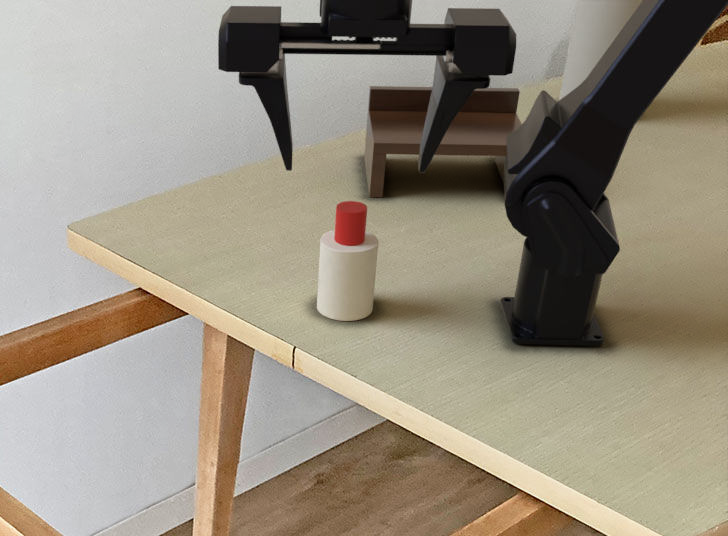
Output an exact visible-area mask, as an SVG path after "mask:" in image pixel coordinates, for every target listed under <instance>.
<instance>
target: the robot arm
mask: <svg viewBox="0 0 728 536" xmlns="http://www.w3.org/2000/svg"><path fill="white" fill-rule="evenodd" d="M412 7H413V0H319V18H320V22H299V21H298V22H297V21H296V22H294V21H293V22H292V21H291V22H289V21H287V22H286V21H284V22H283V21H282V6H277V5H276V6H274V5H271V6H270V5H230V6H229V7H228V8H227V10H226V11H225V12H224V14H222V16H221V20H220V24H219V28H218V40H217V46H218V47H217V48H218V49H217V50H218V51H217V53H218V55H217V56H218V57H217V58H218V59H217V60H218V62H217V63H218V68H217V69H218V70H219V71H222V72H225V73H238V84H239V85H241V86H248V87H253V88H254V90H255V92H256V94H257V96H258V99H259V100H260V102H261V104H262V106H263V109H264V111H265V113H266V115H267V117H268V119H269V122H270V124H271V127H272V131H273V133H274V136H275V139H276V143H277V146H278V149H279V153H280V155H281V158H282V161H283V165H284V167H285V168H284V169H285V170H286V171H289V172H290V171H292V170H293V149H294V145H293V144H294V143H293V133H292V123H291V122H292V121H291V112H290V101H289V90H288V79H287V66H286V55H350V56H351V55H352V56H353V55H355V56H356V55H357V56H358V55H359V56H428V57H429V56H433V57H435V56H436V57H435V64H434V73H433V81H432V83H433V84H432V86H431V87H432V92H431V97H430V101H429V106H428V111H427V115H426V120H425V125H424V129H423V134H422V139H421V143H420V151H419V155H418V164H417V165H418V166H417V169H418V173H420V174H425V173H426V172H427V170H428V168H429V166H430V165H431V162H432V161H433V158H434V156H435V155H434V154H435V152H436V151H437V149H438V147H439V145H440V143H441V141H442V139H443V137H444V135H445V133H446V132H447V130H448V128H449V126H450V124H451V123H452V121H453V120H454V118H455V117H456V115H457V114H458V112H459V111H460V109H461V108H462V106H463V105H464V104H465V102H466V101H467V99H468V98H469V96H470V95H471V94H472V92H473V91H474V90H475V89H485V88H490V86H491V85H490V84H491V77H490V76H498V77H499V76H502V77H505V76H508V75H511V74H513V73H514V72H513V71H514V65H515V58H516V52H517V51H516V50H517V33H516V31H515V30H514V28H513V26H512V24H511V23H510V21H509V20H508V18H507V17H506V15H505V14H504V13H503V11H502V10H501V9H500V8H479V7H478V8H476V7H474V8H471V7H469V8H468V7H467V8H466V7H465V8H463V7H448V8H447V10H446V14H445V17H444V23H411V19H412V9H413V8H412ZM727 7H728V0H643V1H642V2H641V4H640V5H639V6H638V8H637V9H636V10H635V12H634V13H633V15H632V16H631V17H630V19H629V20H628V21H627V23H626V24H625V26H624V27H623V28H622V30H621V31H620V32H619V34H618V35H617V37H616V38H615V39H614V41H613V42H612V43H611V45H610V46H609V48H608V49H607V50H606V52H605V53H604V55H603V56H602V57H601V59H600V60H599V61H598V63H597V64H596V66H595V67H594V68H593V70H592V71H591V72H590V74H589V75H588V77H587V78H586V79H585V80H584V81H583V82H582V83H581V84H580V85H579V86H578V87H577V88H575V89H574V90H573V91H571V92H570V93H569V94H567V95H566V96H565V97H563V98H562V99H561V100H559V99H558V101H557V100H556V99H555V98H554V97H553V96H551V94H549V92H547V91H546V90H541V91H540V92H539V94H538V95H537V97H536V98H535V100H534V103H533V105H532V107H531V109H530V111H529V113H528V115H527V116H526V118H525V120H524V121H523V122H522V123H521V124H522V125H521V126H520V127H519V128H518V129H517V130H516V131H514V132H513V133H511V134H510V135H509V136H507V157H506V159H505V164H504V182H503V193H504V208H505V212H506V217H507V219H508V221H509V223H510V224H511V226H512V228H513V229H514V230H515V231H517V232H518V233H519V234H520V235H521V236H523V237H525V239H524V241H523V247H522V253H521V258H520V263H519V268H518V274H517V281H516V285H515V292H514V296H503V297H501V298H500V302H499V306H500V309H501V312H502V316H503V319H504V322H505V324H506V329H507V332H508V334H509V337H510V341H511V342H512V343H514V344H518V345H545V346H546V345H549V346H551V345H552V346H553V345H554V346H588V347H589V346H590V347H591V346H592V347H594V346H595V347H599V346H603V345H604V343H605V340H606V339H605V335H604V333H603V331H602V329H601V327H600V325H599V322H598V321H597V318H596V316H595V309H596V306H597V300H598V296H599V292H600V288H601V283H602V279H603V275H604V274H606V273H607V271H608V269H609V268H610V266H611V265H612V263H613V262H614V260H615V259H616V257H617V255H618V254H619V253H620V250H621V247H620V242H619V237H618V234H617V229H616V225H615V220H614V217H613V212H612V208H611V203H610V199H609V197H608V196H607V194H605V191H606V190H607V188H608V186H609V185H610V183H611V181H612V179H613V177H614V175H615V172H616V169H617V167H618V165H619V162H620V160H621V157H622V154H623V153H624V150H625V148H626V146H627V143H628V141H629V137H630V136H631V133H632V131H633V129H634V127H635V126H636V124H637V122H638V121H639V120H640V118H641V117H642V116H643V114H644V113H645V112H646V111H647V110H648V109H649V107H650V106H651V104H652V103H653V102H654V100H655V99H656V98H657V97H658V96H659V94H660V93H661V91H662V90H663V89H664V88H665V86H666V85H667V84H668V82H669V81H670V80H671V79H672V78H673V76H674V75H675V74H676V72H677V71H678V70H679V68H680V67H681V66H682V65H683V63H684V62H685V61H686V59H687V58H689V56H690V54H691V53H692V51H693V50H694V49H695V48H696V47H697V45H698V44H699V43H700V41H701V40H702V39H703V37H705V35H706V34H707V33H708V31H709V30H710V29H711V27H713V24H715V22H716V21H717V19H718V18H719V17H720V16H721V15H722V13H723V12H724V11H725V9H726V8H727ZM333 37H334V38H335V37H336V38H337V37H338V38H340V37H341V38H343V37H344V38H348V39H336V38H335V39H333ZM352 38H354V39H352ZM377 38H378V39H377ZM351 39H352V40H351ZM374 39H377V40H374ZM381 39H385V40H381ZM388 39H390V40H388ZM394 39H395V40H394Z"/></svg>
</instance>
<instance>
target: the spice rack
mask: <svg viewBox="0 0 728 536" xmlns="http://www.w3.org/2000/svg"><path fill="white" fill-rule="evenodd" d="M432 87H433V86H388V85H387V86H386V85H384V86H383V85H381V86H379V85H369V90H368V91H369V92H368V106H367V118H366V128H365V129H366V130H365V131H366V132H365V141H364V142H365V143H364V154H363V155H364V156H363V157H364V158H363V159H364V166H365V174H366V181H367V188H368V196H369V198H383V196H384V185H385V176H386V175H385V173H386V164H387V163H386V161H387V155H405V156H406V155H408V156H409V155H410V156H411V155H413V156H415V155H416V156H419V151H420V143H421V139H422V134H423V129H424V125H425V120H426V115H427V111H428V106H429V101H430V97H431V92H432ZM520 93H521V92H520V89H519V88H518V87H517V88H515V87H488V88H485V89H475V90H474V91H473V92H472V94H471V95H470V96H469V98H468V99H467V101H466V102H465V104H464V105H463V106H462V108H461V109H460V111H459V112H458V114H457V115H456V117H455V118H454V120H453V121H452V123H451V124H450V126H449V128H448V130H447V132H446V133H445V135H444V137H443V139H442V141H441V143H440V145H439V147H438V149H437V151H436V152H435V154H434V156H465V157H466V156H471V157H473V156H474V157H494V162H495V165H496V167H497V169H498V172H499V175H500V177H501V179H502V182H503V183H504V164H505V159H506V157H507V136H509V135H510V134H511V133H513V132H514V131H516V130H517V129H518V128H519V127H520V126H521V125H522V124H523V123H522V122H521V120H520V118H519V116H518V114H517V112H518V106H519V99H520Z"/></svg>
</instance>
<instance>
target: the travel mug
mask: <svg viewBox="0 0 728 536" xmlns="http://www.w3.org/2000/svg"><path fill="white" fill-rule="evenodd" d="M642 1H643V0H576V4H575V9H574V13H573V14H574V15H573V20H572V26H571V31H570V35H569V36H570V37H569V41H568V42H569V43H568V48H567V54H566V59H565V65H564V70H563V75H562V81H561V86H560V91H559V97H558V101H559V100H561V99H562V98H563V97H565V96H566V95H567V94H569V93H570V92H571V91H573V90H574V89H575V88H577V87H578V86H579V85H580V84H581V83H582V82H583V81H584V80H585V79H586V78H587V77H588V75H589V74H590V72H591V71H592V70H593V68H594V67H595V66H596V64H597V63H598V61H599V60H600V59H601V57H602V56H603V55H604V53H605V52H606V50H607V49H608V48H609V46H610V45H611V43H612V42H613V41H614V39H615V38H616V37H617V35H618V34H619V32H620V31H621V30H622V28H623V27H624V26H625V24H626V23H627V21H628V20H629V19H630V17H631V16H632V15H633V13H634V12H635V10H636V9H637V8H638V6H639V5H640V4H641V2H642Z"/></svg>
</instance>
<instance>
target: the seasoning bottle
mask: <svg viewBox="0 0 728 536" xmlns="http://www.w3.org/2000/svg"><path fill="white" fill-rule="evenodd" d="M367 215H368V206H367V204H365V203H364V202H360V201H354V200H345V201H341V202H338V203H337V204H336V206H335V219H334V220H335V221H334V222H335V223H334V229H331V230H329V231H326V232H325V233H323V234H322V235H321V237H320V240H319V241H320V242H319V261H318V278H317V281H318V282H317V294H316V295H317V296H316V309H317V311H318V312H319V314H320V315H322V316H323V317H325V318H328V319H331V320H334V321H341V322H351V321H352V322H353V321H358V320H362V319H365V318H367V317H368V316H370V315H371V313H372V312H373V308H374V297H375V285H376V274H377V262H378V252H379V239H378V237H377V236H376V235H375V234H374V233H372V232H370V231H367V230H366V229H367V218H368V217H367Z"/></svg>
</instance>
